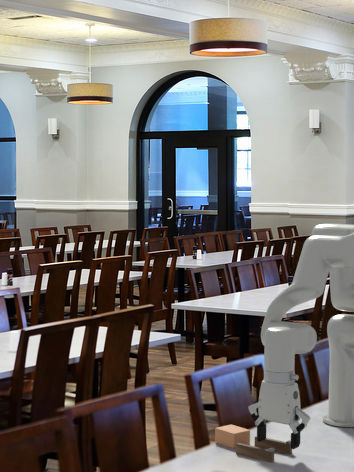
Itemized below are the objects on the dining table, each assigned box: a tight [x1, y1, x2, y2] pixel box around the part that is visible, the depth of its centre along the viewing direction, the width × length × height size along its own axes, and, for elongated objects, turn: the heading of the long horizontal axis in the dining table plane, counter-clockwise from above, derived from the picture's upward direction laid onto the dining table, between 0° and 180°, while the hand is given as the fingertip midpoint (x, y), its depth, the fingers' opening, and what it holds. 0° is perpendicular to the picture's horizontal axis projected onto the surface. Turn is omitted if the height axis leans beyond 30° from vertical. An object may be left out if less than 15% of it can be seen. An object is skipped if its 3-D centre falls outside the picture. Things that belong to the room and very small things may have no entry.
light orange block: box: [214, 424, 251, 449], centre depth 226 cm, size 6×7×4 cm
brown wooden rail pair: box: [235, 435, 293, 463], centre depth 217 cm, size 10×10×3 cm
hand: (278, 444), depth 215 cm, fingers open, 9 cm apart
